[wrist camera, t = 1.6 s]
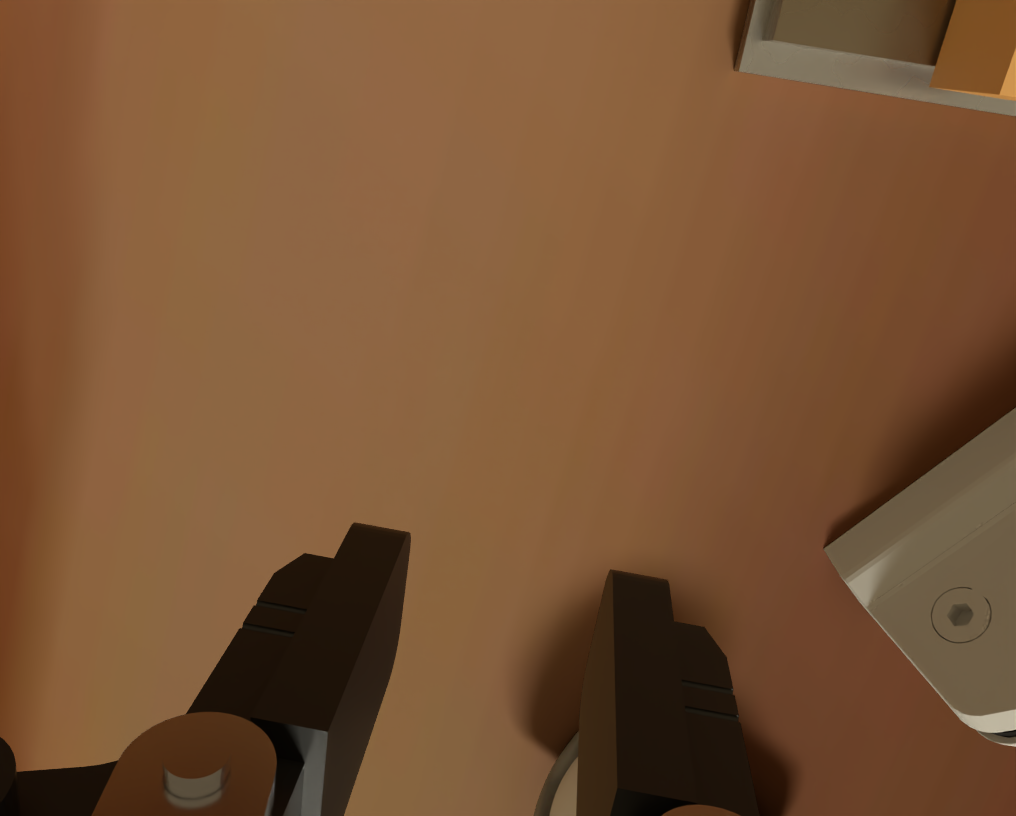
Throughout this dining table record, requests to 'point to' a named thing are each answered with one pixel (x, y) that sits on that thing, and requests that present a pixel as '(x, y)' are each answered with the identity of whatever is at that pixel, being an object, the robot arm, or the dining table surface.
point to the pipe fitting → (561, 784)
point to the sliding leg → (979, 50)
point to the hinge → (949, 577)
